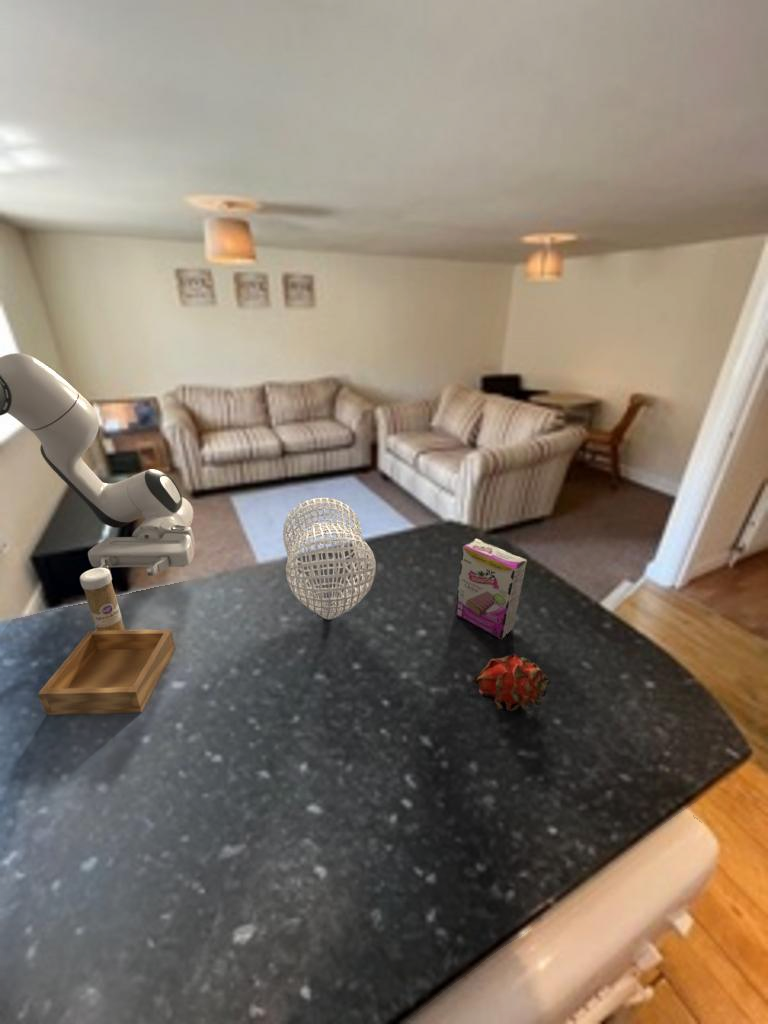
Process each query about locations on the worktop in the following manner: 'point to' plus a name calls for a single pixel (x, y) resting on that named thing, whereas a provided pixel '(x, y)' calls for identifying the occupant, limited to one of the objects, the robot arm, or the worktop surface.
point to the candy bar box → (489, 587)
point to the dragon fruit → (512, 682)
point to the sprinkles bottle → (102, 599)
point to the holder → (109, 673)
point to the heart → (357, 546)
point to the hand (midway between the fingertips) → (126, 572)
